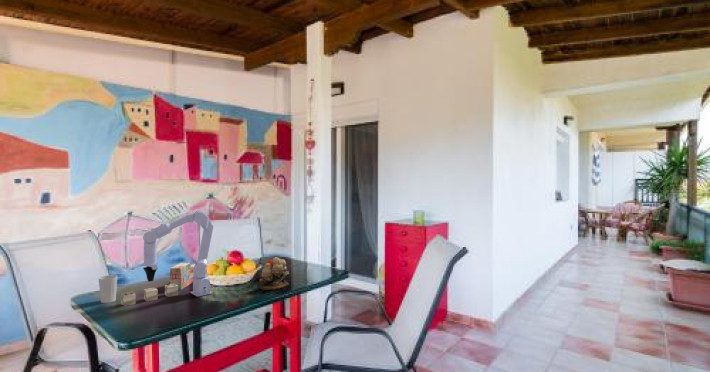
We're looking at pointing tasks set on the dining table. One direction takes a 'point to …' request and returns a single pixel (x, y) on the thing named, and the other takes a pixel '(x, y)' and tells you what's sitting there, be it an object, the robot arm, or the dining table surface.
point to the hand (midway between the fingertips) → (150, 281)
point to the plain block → (150, 294)
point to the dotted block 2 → (171, 290)
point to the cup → (108, 288)
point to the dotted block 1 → (128, 298)
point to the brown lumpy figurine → (274, 275)
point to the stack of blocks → (182, 274)
